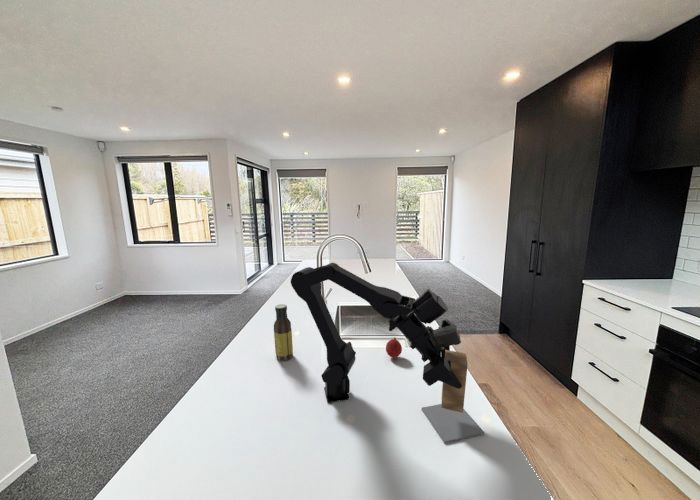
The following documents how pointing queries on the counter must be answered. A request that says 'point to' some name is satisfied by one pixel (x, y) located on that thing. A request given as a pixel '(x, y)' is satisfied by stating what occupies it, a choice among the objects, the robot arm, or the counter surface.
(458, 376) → the block
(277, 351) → the sauce bottle
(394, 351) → the onion
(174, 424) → the counter surface
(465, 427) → the coaster
